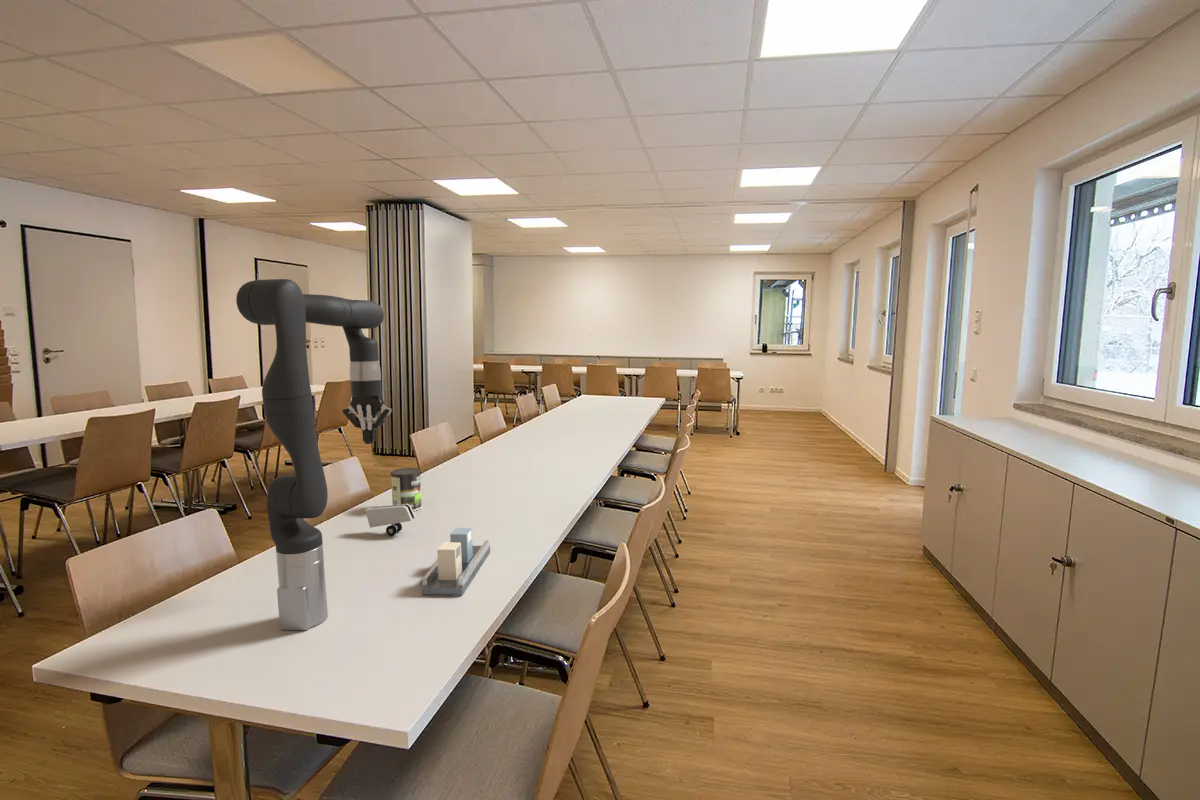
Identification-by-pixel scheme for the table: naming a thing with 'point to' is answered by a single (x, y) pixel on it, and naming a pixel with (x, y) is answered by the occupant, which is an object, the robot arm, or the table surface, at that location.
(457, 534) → the block
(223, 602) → the table surface
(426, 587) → the tray
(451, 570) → the block
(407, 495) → the coffee can
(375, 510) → the grey wheeled device
